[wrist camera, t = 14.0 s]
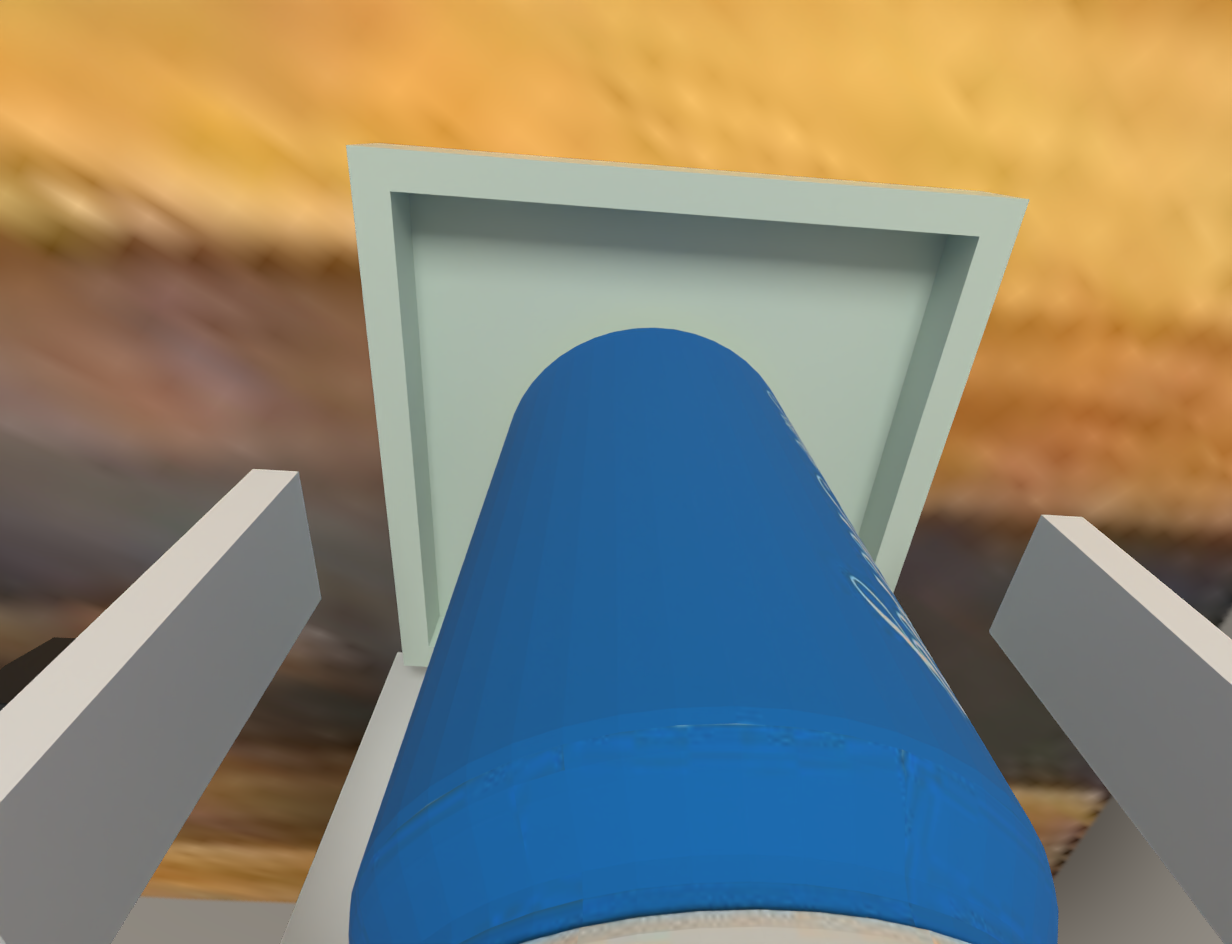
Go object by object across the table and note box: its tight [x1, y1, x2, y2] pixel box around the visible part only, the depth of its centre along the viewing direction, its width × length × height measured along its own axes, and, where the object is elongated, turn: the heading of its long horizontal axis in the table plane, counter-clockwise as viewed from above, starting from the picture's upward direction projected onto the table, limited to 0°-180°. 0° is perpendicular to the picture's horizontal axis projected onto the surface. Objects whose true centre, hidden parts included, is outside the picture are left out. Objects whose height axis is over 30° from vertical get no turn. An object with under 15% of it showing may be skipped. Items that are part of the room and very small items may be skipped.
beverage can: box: [348, 327, 1058, 944], centre depth 10 cm, size 6×6×12 cm
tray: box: [346, 143, 1029, 667], centre depth 15 cm, size 12×12×2 cm
